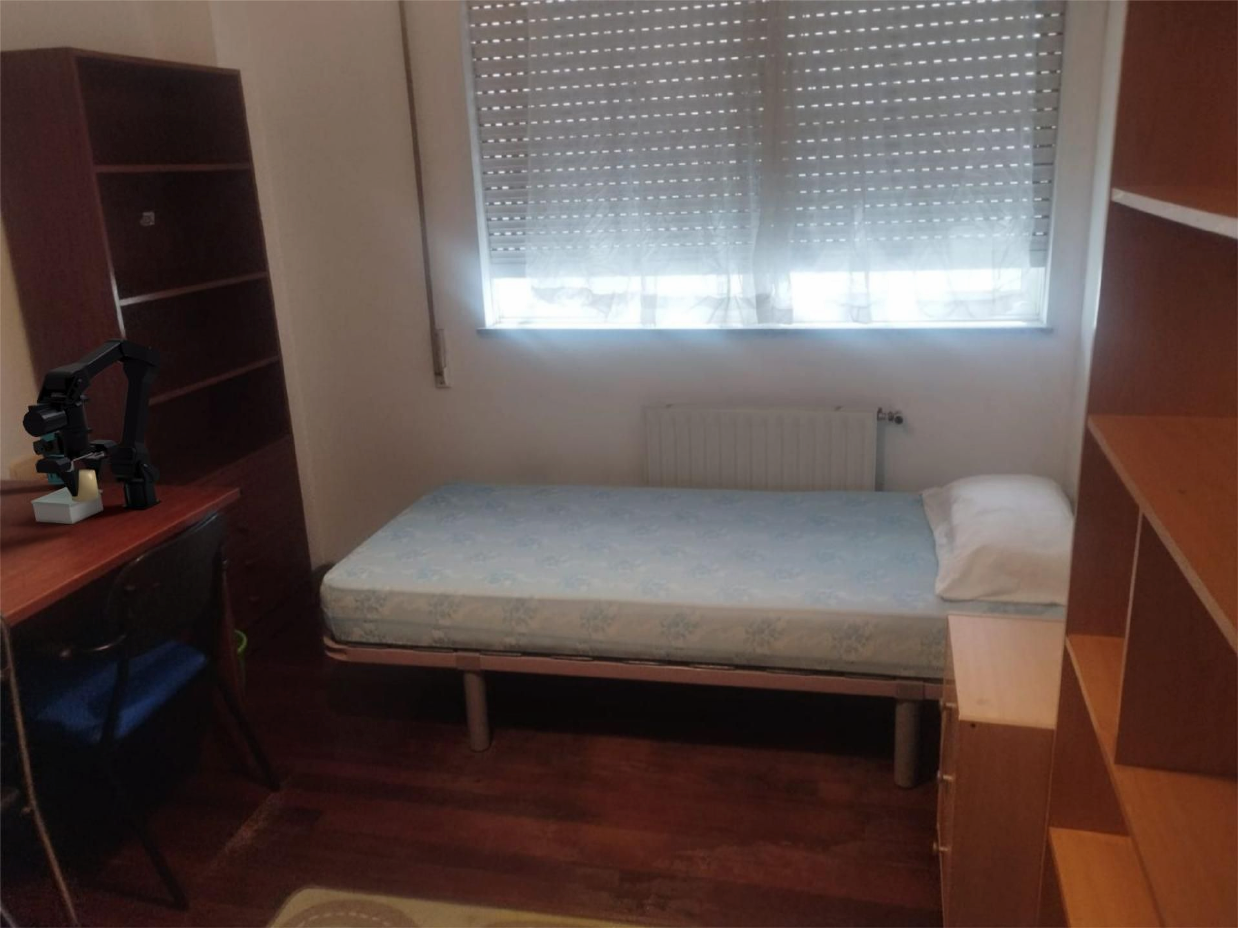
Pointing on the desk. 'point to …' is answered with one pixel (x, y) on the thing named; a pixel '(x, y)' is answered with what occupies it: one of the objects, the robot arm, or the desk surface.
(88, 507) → the storage box
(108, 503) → the desk surface
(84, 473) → the beige rounded cylinder
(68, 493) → the box lid
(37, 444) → the robot arm
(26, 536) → the desk surface
